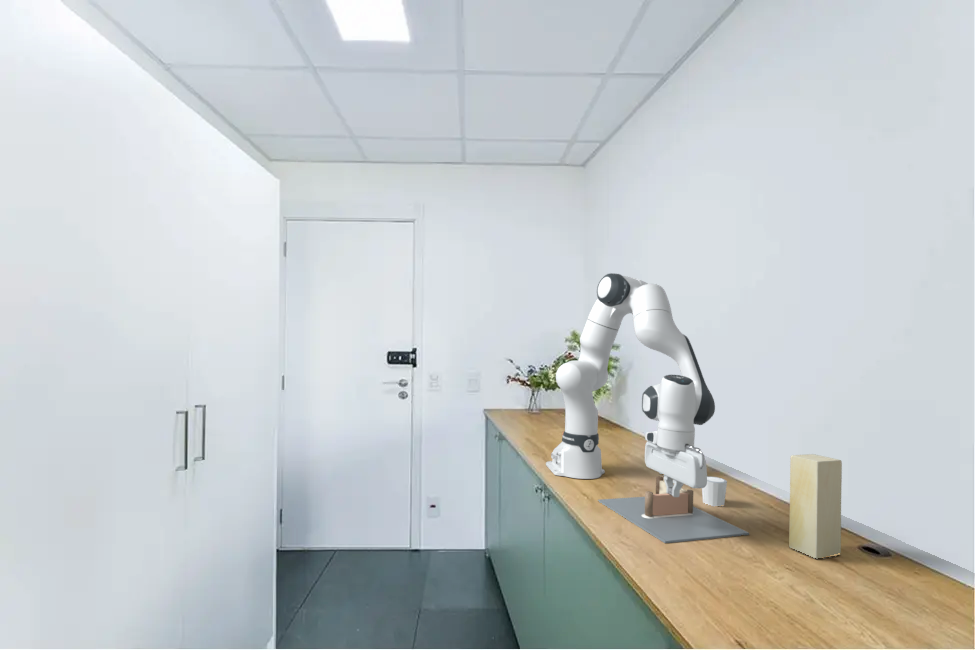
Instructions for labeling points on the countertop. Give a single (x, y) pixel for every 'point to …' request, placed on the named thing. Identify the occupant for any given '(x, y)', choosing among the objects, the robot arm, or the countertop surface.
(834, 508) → the toy refrigerator
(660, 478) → the fixed fence panel
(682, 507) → the hinged fence panel
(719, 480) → the white cup
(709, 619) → the countertop surface
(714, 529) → the card
